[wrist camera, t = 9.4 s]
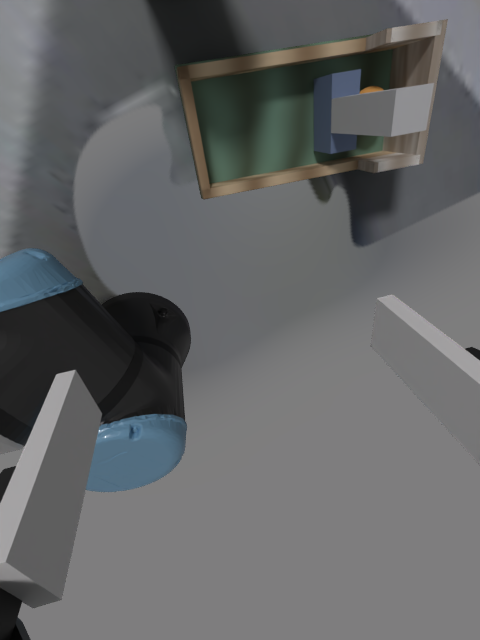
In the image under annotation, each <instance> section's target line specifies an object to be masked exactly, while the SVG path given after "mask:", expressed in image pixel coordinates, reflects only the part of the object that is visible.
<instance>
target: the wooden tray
mask: <svg viewBox="0 0 480 640" xmlns="http://www.w3.org/2000/svg"><path fill="white" fill-rule="evenodd" d="M447 21H448V19H447V20H440V21H434V22H427V23H421V24H414V25H408V26H401V27H395V28H388V29H385V30H383V31H380V32H378V33H376V34H372V35H366V36H359V37H353V38H346V39H340V40H334V41H327V42H321V43H314V44H308V45H301V46H295V47H288V48H282V49H276V50H269V51H263V52H256V53H250V54H243V55H237V56H230V57H224V58H218V59H211V60H205V61H198V62H192V63H185V64H179V65H175V71H176V76H177V81H178V86H179V91H180V96H181V101H182V106H183V111H184V116H185V121H186V125H187V130H188V135H189V140H190V145H191V150H192V155H193V160H194V165H195V170H196V175H197V180H198V184H199V190H200V194H201V198H202V199H208V198H213V197H218V196H224V195H229V194H234V193H239V192H244V191H249V190H254V189H259V188H264V187H269V186H275V185H279V184H284V183H290V182H295V181H300V180H305V179H310V178H316V177H321V176H326V175H331V174H336V173H341V172H346V171H351V170H356V169H358V170H362V171H366V172H371V173H377V172H382V171H387V170H392V169H397V168H402V167H407V166H412V165H418V164H423V159H424V154H425V148H426V142H427V136H428V131H429V125H430V119H431V113H432V107H433V102H434V96H435V90H436V84H437V79H438V73H439V67H440V61H441V55H442V50H443V44H444V38H445V32H446V27H447ZM358 69H361V77H360V91H361V90H363V89H364V88H366V87H369V86H378V87H381V88H382V89H383V90H390V89H396V88H403V87H410V86H417V85H423V84H430V83H434V87H433V93H432V98H431V104H430V110H429V116H428V122H427V128H426V130H425V131H419V132H414V133H409V134H403V135H398V136H393V137H386V136H370V135H357V142H356V149H354V150H349V151H344V152H339V153H333V154H328V153H323V152H317V151H314V79H316V78H319V77H323V76H326V75H330V74H334V73H340V72H346V71H352V70H358Z"/></svg>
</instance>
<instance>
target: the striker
mask: <svg viewBox="0 0 480 640" xmlns="http://www.w3.org/2000/svg"><path fill="white" fill-rule="evenodd" d="M360 77H361V69H358V70H352V71H346V72H340V73H334V74H330V75H326V76H323V77H319V78H316V79H314V151H317V152H323V153H328V154H333V153H339V152H344V151H349V150H354V149H356V142H357V135H370V136H386V137H393V136H398V135H403V134H409V133H414V132H419V131H425V130H426V128H427V122H428V116H429V110H430V104H431V98H432V93H433V87H434V83H430V84H423V85H417V86H410V87H403V88H396V89H390V90H383V91H376V92H369V93H362V94H360Z"/></svg>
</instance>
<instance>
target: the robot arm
mask: <svg viewBox="0 0 480 640" xmlns="http://www.w3.org/2000/svg"><path fill="white" fill-rule="evenodd" d="M190 344H191V335H190V327H189V323H188V320H187V318H186V316H185V315H184V313H183V312H182V311H181V310H180V308H178V307H177V306H176V305H175V304H174V303H172V302H171V301H169V300H168V299H165V298H163V297H161V296H158V295H155V294H151V293H143V292H135V293H134V292H133V293H126V294H122V295H119V296H116V297H114V298H112V299H110V300H108V301H106V302H105V303H104V304H102V305H101V304H100V303H99V302H98V301H97V300H96V298H95V297H94V296H93V295H92V294H91V293H90V292H89V291H88V290H87V289H86V287H85V286H84V285H83V282H82V280H80V279H79V278H76V277H75V276H74V275H73V274H71V273H70V272H69V271H68V270H67V269H66V268H65V267H64V266H63V265H62V264H61V263H60V262H59V261H58V260H57V259H56V258H55V257H54V256H53V255H51V254H50V253H48V252H46V251H44V250H41V249H35V248H28V249H23V250H20V251H17V252H15V253H13V254H10V255H8V256H6V257H4V258H1V259H0V454H3V453H8V452H12V451H16V450H20V449H22V448H23V447H24V446H25V448H24V450H23V452H22V455H21V457H20V459H19V461H18V464H17V466H14V467H11V468H7V469H4V470H3V471H2V472H1V473H0V640H30V638H29V635H28V633H27V631H26V629H25V627H24V624H23V622H22V621H21V620H20V619H19V618H18V613H19V610H20V607H21V603H22V602H23V603H25V604H27V605H29V606H30V607H32V608H36V607H39V606H42V605H46V604H49V603H52V602H56V601H59V600H62V595H63V591H64V586H65V582H66V577H67V572H68V567H69V563H70V558H71V554H72V549H73V545H74V540H75V536H76V531H77V526H78V522H79V517H80V513H81V508H82V504H83V499H84V495H85V490H89V491H97V492H116V491H124V490H130V489H134V488H138V487H142V486H145V485H148V484H150V483H152V482H155V481H157V480H159V479H160V478H162V477H164V476H165V475H167V474H168V473H169V472H171V471H172V470H173V469H174V468H175V467H176V466H177V464H178V463H179V462H180V460H181V457H182V455H183V454H184V451H185V440H186V430H187V424H186V422H185V413H184V399H183V385H182V372H181V368H182V366H183V363H184V361H185V359H186V357H187V354H188V352H189V349H190ZM371 347H372V348H373V349H374V350H375V351H376V353H377V354H378V355H379V356H380V357H381V358H382V359H383V360H384V361H385V362H386V363H387V364H388V366H389V367H390V368H391V369H392V370H393V371H394V372H395V373H396V374H397V375H398V377H399V378H400V379H401V380H402V381H403V382H404V383H405V384H406V385H407V386H408V387H409V389H410V390H411V391H412V392H413V393H414V394H415V395H416V396H417V397H418V398H419V399H420V400H421V402H422V403H423V404H424V405H425V406H426V407H427V408H428V409H429V410H430V411H431V413H432V414H433V415H434V416H435V417H436V418H437V419H438V420H439V421H440V422H441V423H442V425H443V426H444V427H445V428H446V429H447V430H448V431H449V432H450V433H451V434H452V436H453V437H454V438H455V439H456V440H457V441H458V442H459V443H460V444H461V445H462V446H463V448H465V450H466V451H467V452H468V453H469V454H470V455H471V456H472V457H473V458H474V460H475V461H476V462H477V463H478V464H479V465H480V350H478V349H475V348H473V347H470V348H466V349H464V348H462V347H461V346H460V345H459V344H457V343H456V342H454V341H453V340H452V339H450V338H449V337H448V336H447V335H445V334H444V333H443V332H441V331H440V330H439V329H437V328H436V327H435V326H434V325H432V324H431V323H429V322H428V321H427V320H426V319H424V318H423V317H422V316H420V315H419V314H418V313H416V312H415V311H414V310H412V309H411V308H410V307H408V306H407V305H406V304H404V303H403V302H402V301H401V300H399V299H397V297H395V296H394V295H389V296H385V297H380V298H377V300H376V308H375V316H374V324H373V332H372V340H371Z"/></svg>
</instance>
